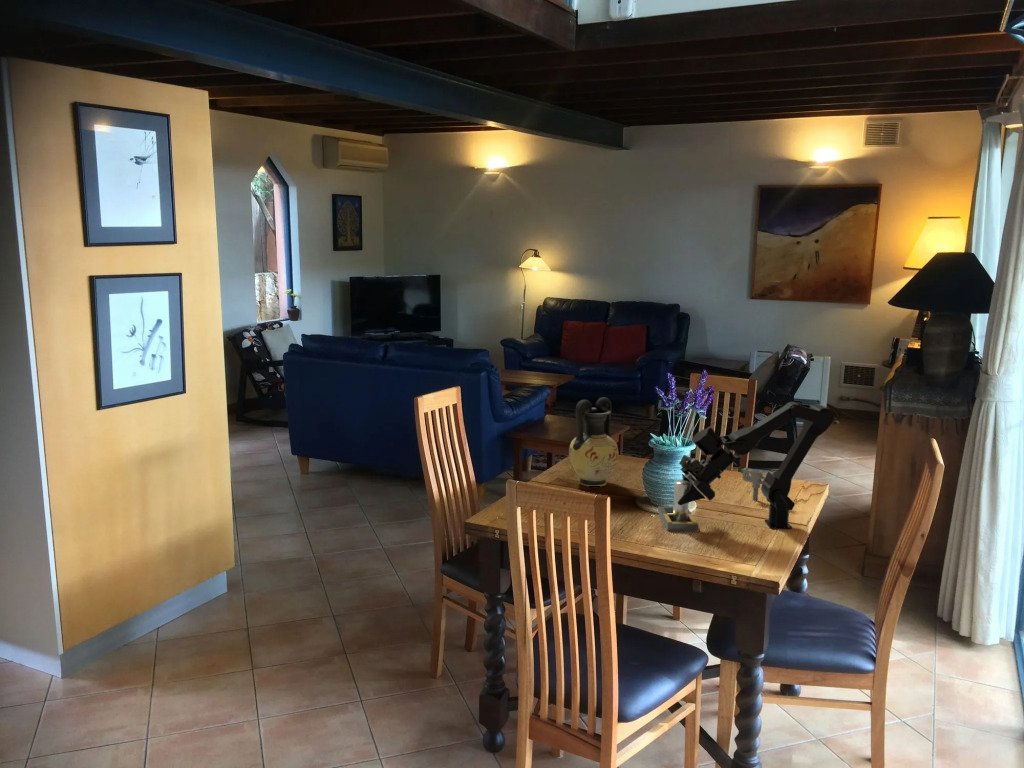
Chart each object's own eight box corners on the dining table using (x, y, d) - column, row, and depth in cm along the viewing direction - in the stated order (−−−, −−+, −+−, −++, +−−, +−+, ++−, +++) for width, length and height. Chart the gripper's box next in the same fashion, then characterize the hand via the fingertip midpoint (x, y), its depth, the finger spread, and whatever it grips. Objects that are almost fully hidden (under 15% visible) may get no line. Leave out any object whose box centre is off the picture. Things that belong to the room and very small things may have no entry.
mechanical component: (768, 504, 272) (770, 474, 270) (738, 498, 278) (740, 469, 276) (771, 502, 274) (774, 472, 272) (741, 496, 280) (743, 467, 279)
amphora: (589, 473, 303) (592, 391, 298) (627, 483, 292) (631, 399, 287) (557, 482, 291) (559, 398, 286) (595, 494, 279) (599, 405, 274)
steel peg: (690, 524, 249) (692, 484, 247) (676, 525, 248) (678, 485, 246) (683, 519, 253) (685, 479, 251) (670, 520, 252) (672, 480, 250)
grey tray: (697, 531, 246) (698, 523, 246) (667, 530, 246) (667, 523, 246) (686, 513, 262) (686, 505, 262) (657, 512, 262) (658, 505, 262)
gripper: (688, 439, 256) (651, 474, 257) (706, 455, 238) (666, 492, 239) (712, 464, 258) (675, 498, 259) (731, 482, 239) (691, 519, 241)
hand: (676, 501), depth 249 cm, fingers closed on steel peg, 4 cm apart
